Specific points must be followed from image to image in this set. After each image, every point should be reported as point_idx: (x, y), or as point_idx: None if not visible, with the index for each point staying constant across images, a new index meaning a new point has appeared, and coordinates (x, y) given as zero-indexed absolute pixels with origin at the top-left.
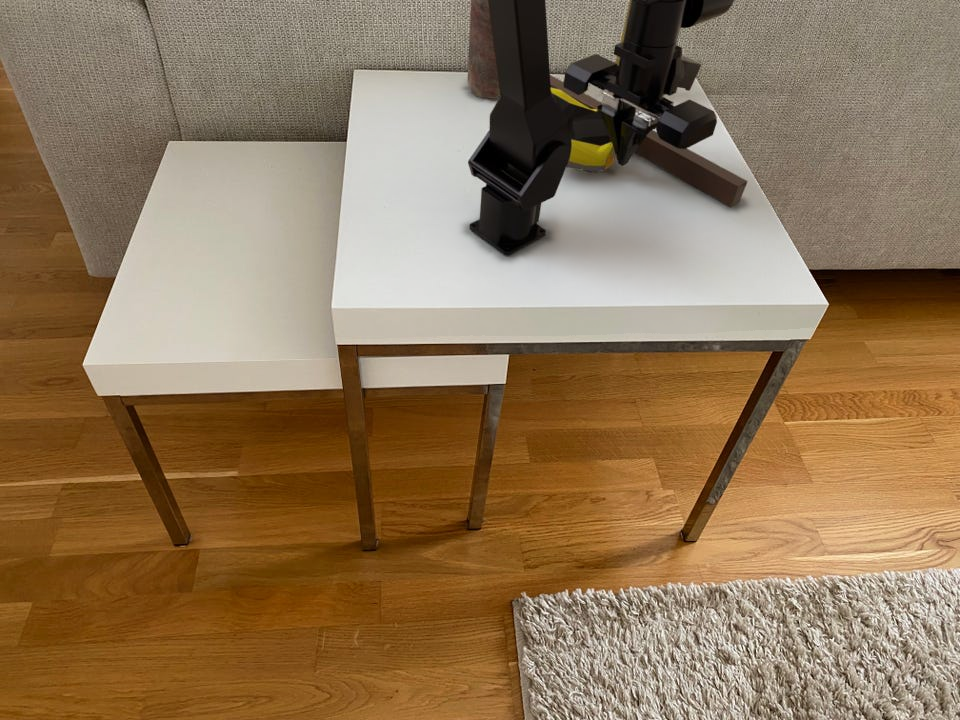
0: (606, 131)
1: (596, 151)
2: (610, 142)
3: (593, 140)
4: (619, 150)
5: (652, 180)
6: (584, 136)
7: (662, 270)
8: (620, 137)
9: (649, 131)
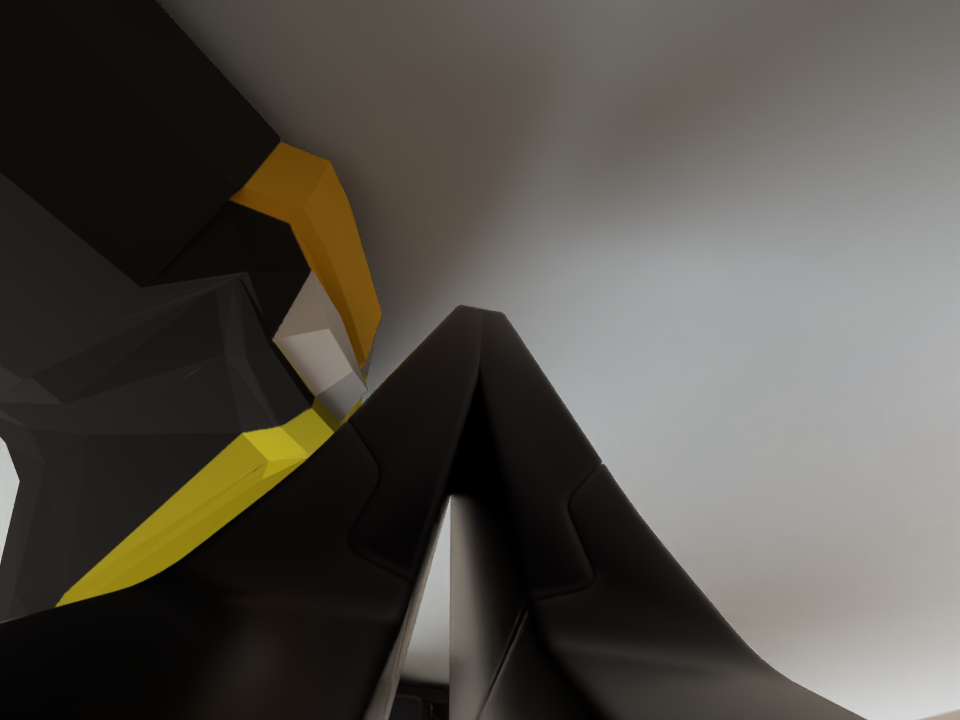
0: (49, 233)
1: (271, 476)
2: (280, 423)
3: (98, 339)
4: (445, 513)
5: (706, 99)
6: (11, 369)
7: (924, 644)
8: (411, 632)
9: (709, 619)
